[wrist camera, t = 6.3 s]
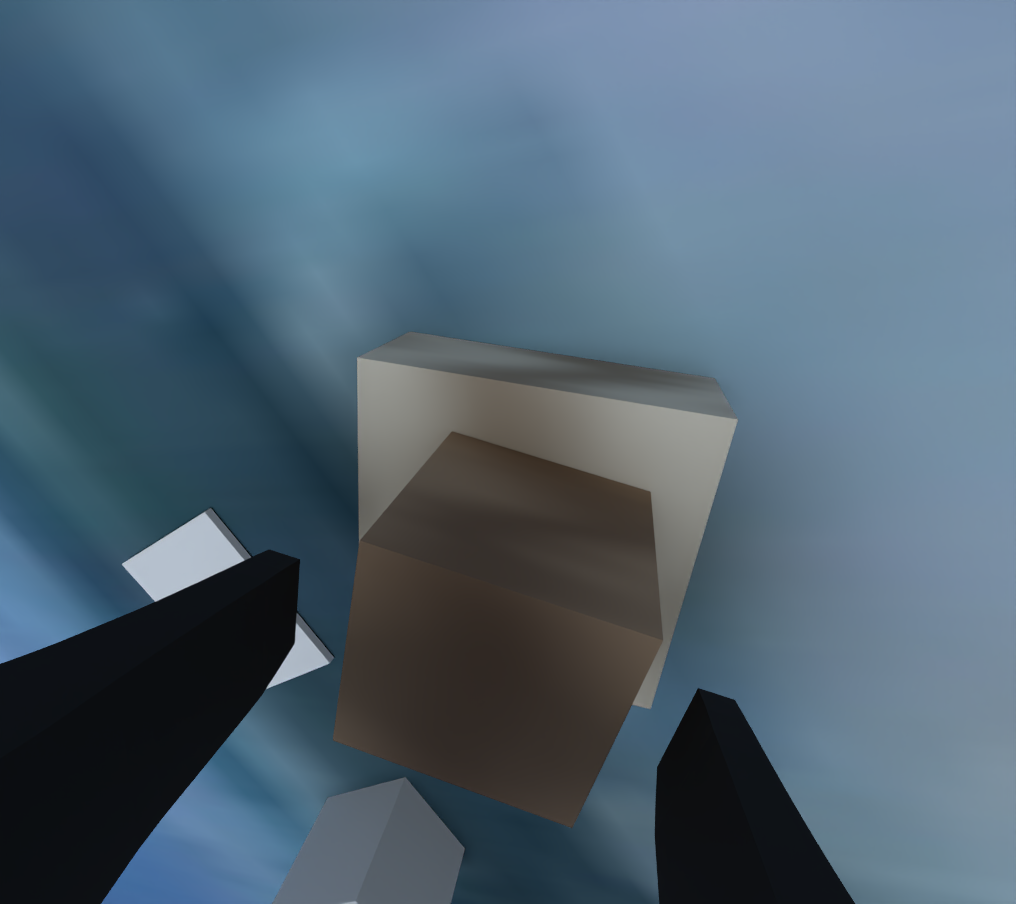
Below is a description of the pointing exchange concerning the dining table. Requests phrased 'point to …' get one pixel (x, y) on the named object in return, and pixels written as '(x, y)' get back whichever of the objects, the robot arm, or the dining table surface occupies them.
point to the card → (205, 554)
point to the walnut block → (501, 625)
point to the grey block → (375, 851)
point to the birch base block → (551, 434)
